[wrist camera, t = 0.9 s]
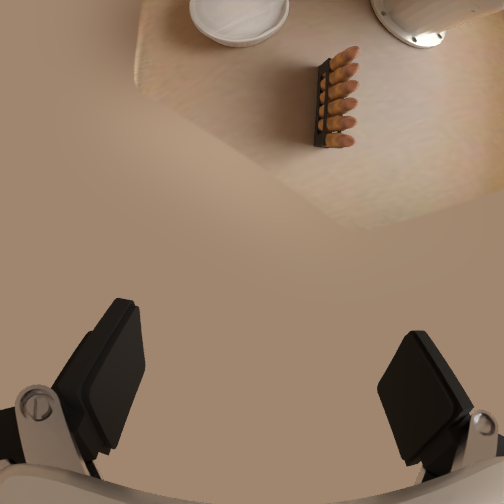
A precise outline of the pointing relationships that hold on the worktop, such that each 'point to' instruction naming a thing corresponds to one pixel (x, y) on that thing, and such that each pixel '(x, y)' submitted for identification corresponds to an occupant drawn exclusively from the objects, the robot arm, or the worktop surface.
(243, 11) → the ramekin
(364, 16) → the worktop surface
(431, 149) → the worktop surface
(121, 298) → the robot arm
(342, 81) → the ammunition clip
